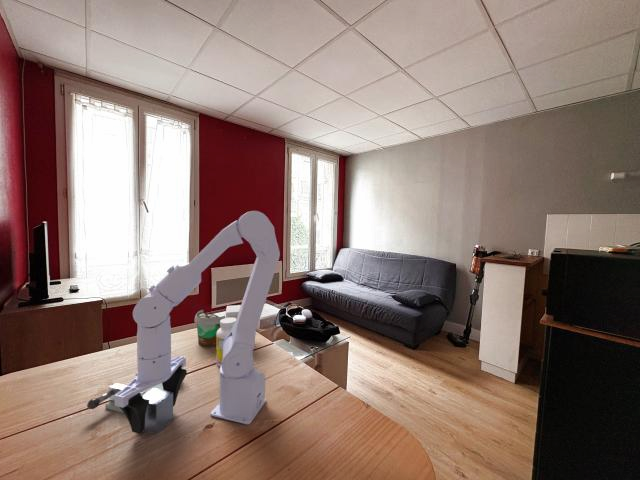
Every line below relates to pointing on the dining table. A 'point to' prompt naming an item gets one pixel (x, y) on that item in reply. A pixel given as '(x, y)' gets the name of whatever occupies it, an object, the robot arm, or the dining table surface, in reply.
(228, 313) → the supplement box
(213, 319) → the food container
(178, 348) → the dining table surface
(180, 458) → the dining table surface
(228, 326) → the supplement bottle
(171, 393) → the block
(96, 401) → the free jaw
